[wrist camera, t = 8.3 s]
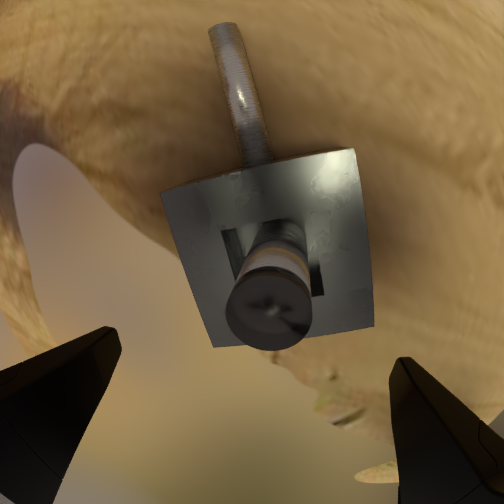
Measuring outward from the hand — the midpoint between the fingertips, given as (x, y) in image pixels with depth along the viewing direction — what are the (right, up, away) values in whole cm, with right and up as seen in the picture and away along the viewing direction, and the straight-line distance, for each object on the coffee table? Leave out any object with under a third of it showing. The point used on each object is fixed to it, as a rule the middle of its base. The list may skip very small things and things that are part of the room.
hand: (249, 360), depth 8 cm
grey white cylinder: (+2, +4, +10) cm, 11 cm away
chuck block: (+1, +8, +9) cm, 12 cm away
